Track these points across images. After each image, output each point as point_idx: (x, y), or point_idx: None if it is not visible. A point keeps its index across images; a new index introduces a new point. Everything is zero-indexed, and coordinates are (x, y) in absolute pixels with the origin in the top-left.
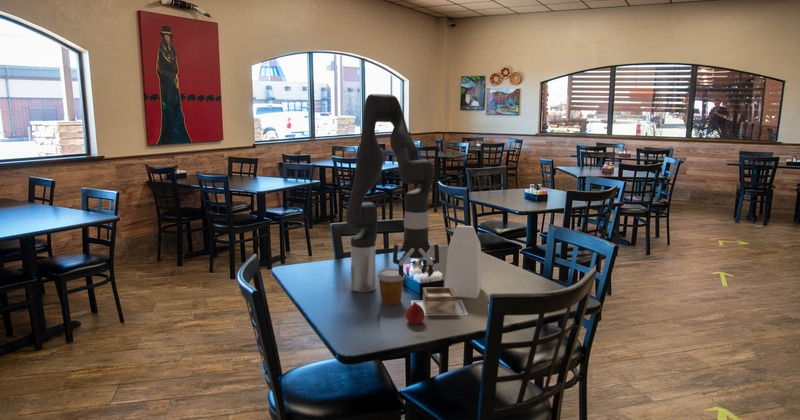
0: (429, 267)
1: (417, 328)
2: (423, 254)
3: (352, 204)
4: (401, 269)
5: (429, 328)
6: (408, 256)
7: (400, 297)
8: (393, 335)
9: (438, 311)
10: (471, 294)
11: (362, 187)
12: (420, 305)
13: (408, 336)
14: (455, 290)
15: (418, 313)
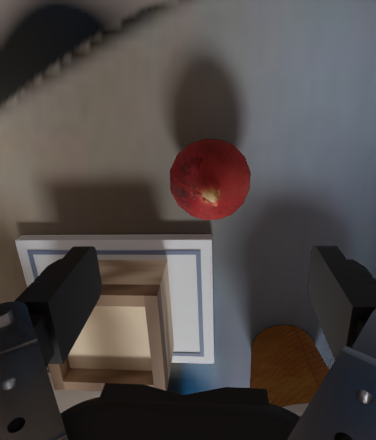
0: (49, 290)
1: None
2: (31, 419)
3: None
4: (359, 280)
5: (156, 144)
6: (332, 398)
7: (254, 361)
8: (306, 69)
9: (118, 262)
10: None
11: None
12: (182, 323)
13: (244, 59)
14: (59, 405)
15: (195, 149)
